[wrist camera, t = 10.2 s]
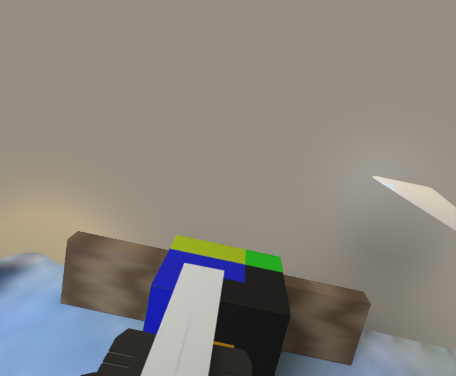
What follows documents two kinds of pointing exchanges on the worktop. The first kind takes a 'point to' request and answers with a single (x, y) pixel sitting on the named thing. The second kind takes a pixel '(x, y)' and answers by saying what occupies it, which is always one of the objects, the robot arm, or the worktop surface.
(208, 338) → the robot arm
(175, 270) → the puzzle toy
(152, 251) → the walnut board
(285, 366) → the worktop surface
